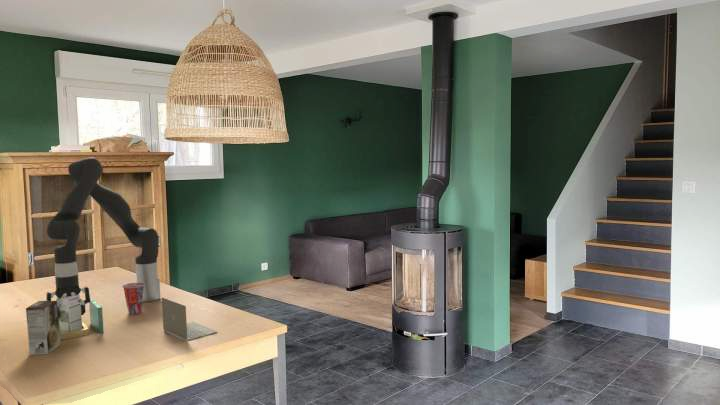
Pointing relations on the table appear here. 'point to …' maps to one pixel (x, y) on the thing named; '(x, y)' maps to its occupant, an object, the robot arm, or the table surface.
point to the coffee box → (43, 327)
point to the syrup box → (69, 314)
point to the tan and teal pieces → (95, 320)
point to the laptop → (181, 322)
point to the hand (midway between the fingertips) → (69, 316)
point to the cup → (134, 297)
